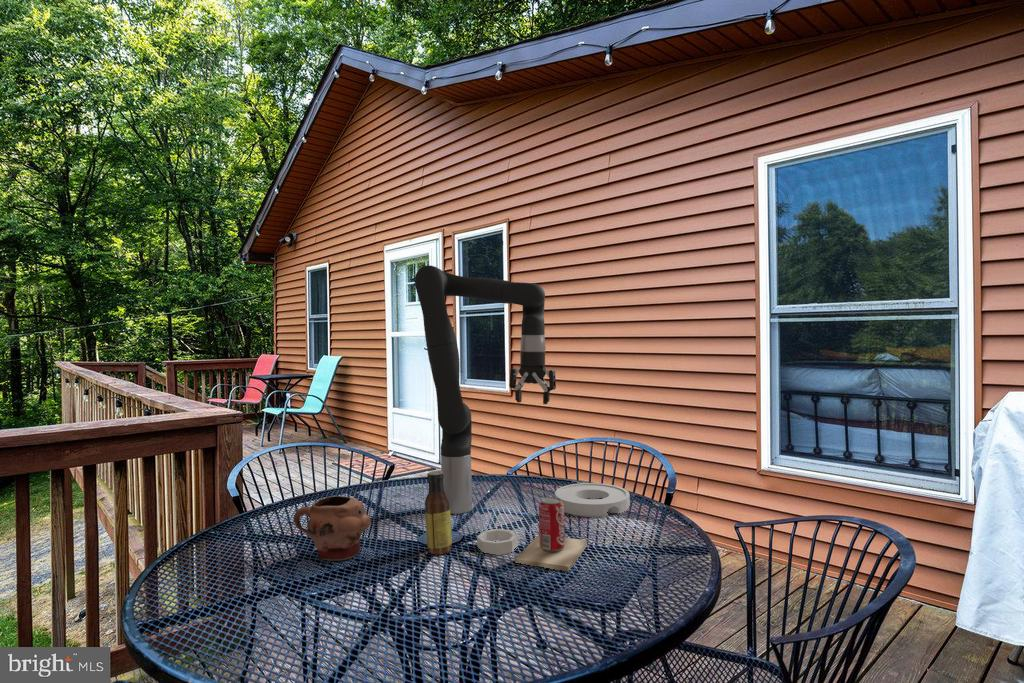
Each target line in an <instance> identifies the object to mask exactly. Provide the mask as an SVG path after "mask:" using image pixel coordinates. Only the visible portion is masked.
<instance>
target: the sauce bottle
mask: <svg viewBox="0 0 1024 683" xmlns="http://www.w3.org/2000/svg"><path fill="white" fill-rule="evenodd" d="M443 478H444V474H443V472H441V471H440V470H433V471H429V472H427V480H428V493H427V495H426V497H425V500H424V506H425V510H424V512H425V513H424V514H425V517H424V518H425V531H426V533H425V534H426V547H427V552H428V554H432V555H434V556H441V555H445V554H449V553H450V552H451V551H452V550H451V549H452V548H453V547H452V543H453V537H452V536H453V534H452V518H451V514H450V505H449V502H448V499H447V497H446V494H445V491H444V485H443Z"/></svg>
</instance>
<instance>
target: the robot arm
mask: <svg viewBox="0 0 1024 683" xmlns="http://www.w3.org/2000/svg"><path fill="white" fill-rule="evenodd" d="M413 283H414V287H415V290H416V292H417V293H416V294H417V297H418V300H419V304H420V308H421V313H422V317H423V318H422V319H423V329H424V337H425V344H426V351H427V356H428V361H429V362H428V363H429V365H430V371H431V376H432V379H433V384H434V388H435V394H436V395H435V396H436V405H437V406H436V407H437V419H438V420H437V421H438V424H439V426H440V428H441V433H442V434H441V435H442V436H441V442H440V443H441V445H440V467H441V468H440V470H441V472H443V474H444V478H443V485H444V491H445V494H446V497H447V499H448V502H449V505H450V515H451V514H453V515H458V514H459V515H460V514H465V513H469V512H470V511H472V509H473V495H472V494H473V492H472V491H473V487H472V440H473V438H472V436H473V435H472V434H473V433H472V430H473V429H472V428H473V427H472V426H473V425H472V422H473V421H472V413H471V409H470V407H469V406H468V405H467V404H466V403H465V402H464V401H463V396H462V392H461V386H460V385H461V384H460V372H461V370H460V369H461V368H460V367H461V366H460V354H459V348H458V342H457V338H456V333H455V330H454V327H453V325H452V322H451V319H450V317H449V313H448V309H447V305H446V304H447V303H446V297H464V298H470V299H475V300H479V301H484V302H490V303H497V304H505V305H506V304H513V305H518V306H522V319H521V331H520V332H521V337H520V349H519V350H520V354H519V355H520V357H519V358H520V364H519V365H520V367H519V369H518V368H516V367H515V368H514V367H512V368H511V369H510V370H509V371H510V373H509V383H508V384H509V388H510V389H513V390H514V392H515V393H514V394H515V395H514V396H515V397H514V398H515V399H514V400H515V401H516V403H522V399H523V398H522V394H523V390H522V388H523V387H524V386H525V385H526V384H535V385H537V384H538V385H539V386H540V387H541V388H542V390H543V393H542V405H547V404H548V403H549V402H550V397H551V396H550V393H551V391H553V390H556V389H557V385H556V382H557V380H556V370H555V369H550V370H546V348H547V347H546V339H545V330H546V329H545V328H546V326H545V319H544V318H545V316H544V315H545V303H546V302H545V300H546V293H545V290H544V289H543V287H542V286H541V285H539V284H537V283H530V282H517V281H516V282H515V281H509V280H504V279H499V278H489V277H469V276H461V275H456V274H452V273H450V272H447V271H444V270H442V269H440V268H439V267H436V266H434V265H429V264H428V265H423V266H422V267H420V268H418V270H417V271H416V273H415V275H414V282H413ZM546 375H547V377H548V383H549V385H548V383H547V381H546V380H545V376H546ZM518 376H520V377H521V378H520V379H519V380H518V383H517V377H518Z"/></svg>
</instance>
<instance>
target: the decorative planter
mask: <svg viewBox="0 0 1024 683" xmlns="http://www.w3.org/2000/svg"><path fill="white" fill-rule="evenodd" d="M302 516H306V517H308V522H307V525H306V526H307V527H306V528H307V529H306V528H304V527H303V526H302V525H301V523H300V520H301V517H302ZM292 519H293V523H294V526H295V528H297V529H298V530H300V531H301V532H303V533H305V535H306V536H308V537H309V538H310V539H311V540H312V541H313V543H314V545H315V548H316V551H317V555H318V558H319V559H321V560H324V561H332V562H333V561H345V560H348V559H352V558H354V557H355V556H357V555H358V554H359V553H360V550H361V538H360V537H361V535H362V533H363V532H364V531H366V530H367V529H369V527H370V526H371V524H372V519H371V517H370V516H369V515H368V514H367V513H366V510H365V506H364V504H363V502H361V501H360V500H358V499H357V498H355V497H352V496H351V497H350V496H343V495H342V496H341V495H335V496H334V495H333V496H332V495H331V496H327V497H324V498H321V499H318V500H316V501H314V503H313V504H311V506H303V507H299V509H296V511H295V512H294V514H293V517H292Z"/></svg>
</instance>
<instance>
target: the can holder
mask: <svg viewBox="0 0 1024 683" xmlns="http://www.w3.org/2000/svg"><path fill="white" fill-rule="evenodd" d="M518 537H519V535H518V534H517V533H516V532H514V531H513V530H510V529H503V528H502V529H501V528H493V529H488V530H483V531H482V532H480V534H478V535H477V536H476V540H477V541H476V542H477V543H476V544H477V545H476V546H477V547H478V548H479V549H480V550H481V551H482V552H484V553H490V554H496V555H495V556H497V555H498V556H502V555H508V554H512V553H514V552H515V550H516V549H517V548H518V547H519V543H518V542H519V540H518ZM494 540H502V541H499V542H495V541H494ZM517 546H518V547H517ZM516 547H517V548H516ZM478 548H477V549H478ZM515 548H516V549H515ZM479 549H478V550H479ZM514 549H515V550H514ZM480 550H479V551H480ZM481 551H480V552H481ZM482 552H481V553H482ZM511 552H512V553H511ZM490 554H489V555H490Z"/></svg>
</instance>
